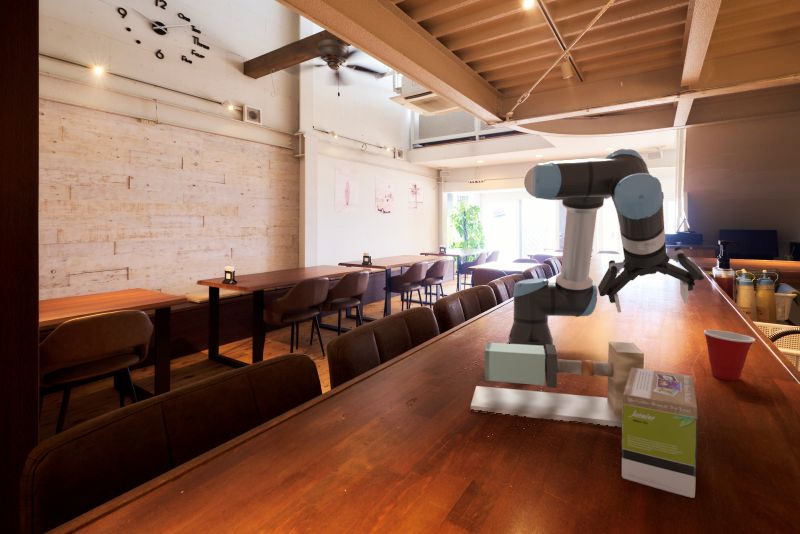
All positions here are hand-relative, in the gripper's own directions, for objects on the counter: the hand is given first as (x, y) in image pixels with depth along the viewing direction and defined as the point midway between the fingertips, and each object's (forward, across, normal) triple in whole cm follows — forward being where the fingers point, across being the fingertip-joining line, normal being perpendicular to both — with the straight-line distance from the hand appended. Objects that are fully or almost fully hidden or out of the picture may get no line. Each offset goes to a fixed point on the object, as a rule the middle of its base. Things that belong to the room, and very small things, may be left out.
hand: (650, 303), depth 94 cm
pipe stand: (+2, -25, -23) cm, 34 cm away
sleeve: (-5, -32, -18) cm, 37 cm away
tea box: (-6, -8, -38) cm, 40 cm away
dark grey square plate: (-2, -24, -19) cm, 31 cm away
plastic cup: (+35, +15, -3) cm, 38 cm away
